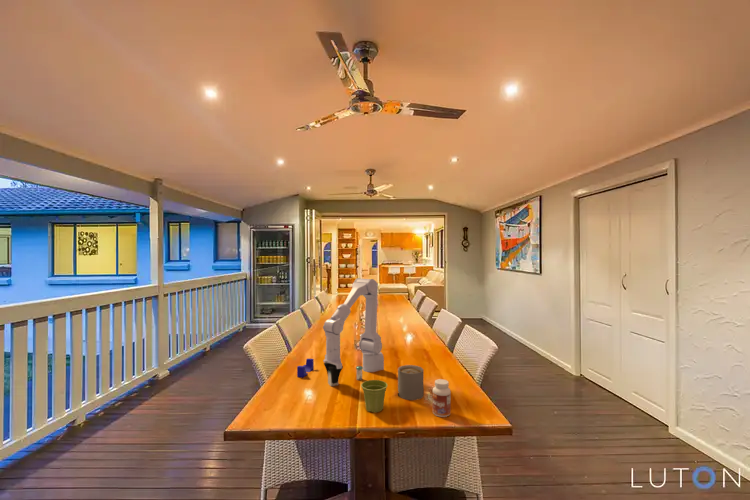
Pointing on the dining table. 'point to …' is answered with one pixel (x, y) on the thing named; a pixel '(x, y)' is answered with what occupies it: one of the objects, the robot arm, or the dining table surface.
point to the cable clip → (305, 368)
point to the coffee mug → (410, 382)
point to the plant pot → (374, 394)
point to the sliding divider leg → (330, 379)
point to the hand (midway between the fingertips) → (333, 381)
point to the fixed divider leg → (359, 372)
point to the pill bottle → (441, 398)
